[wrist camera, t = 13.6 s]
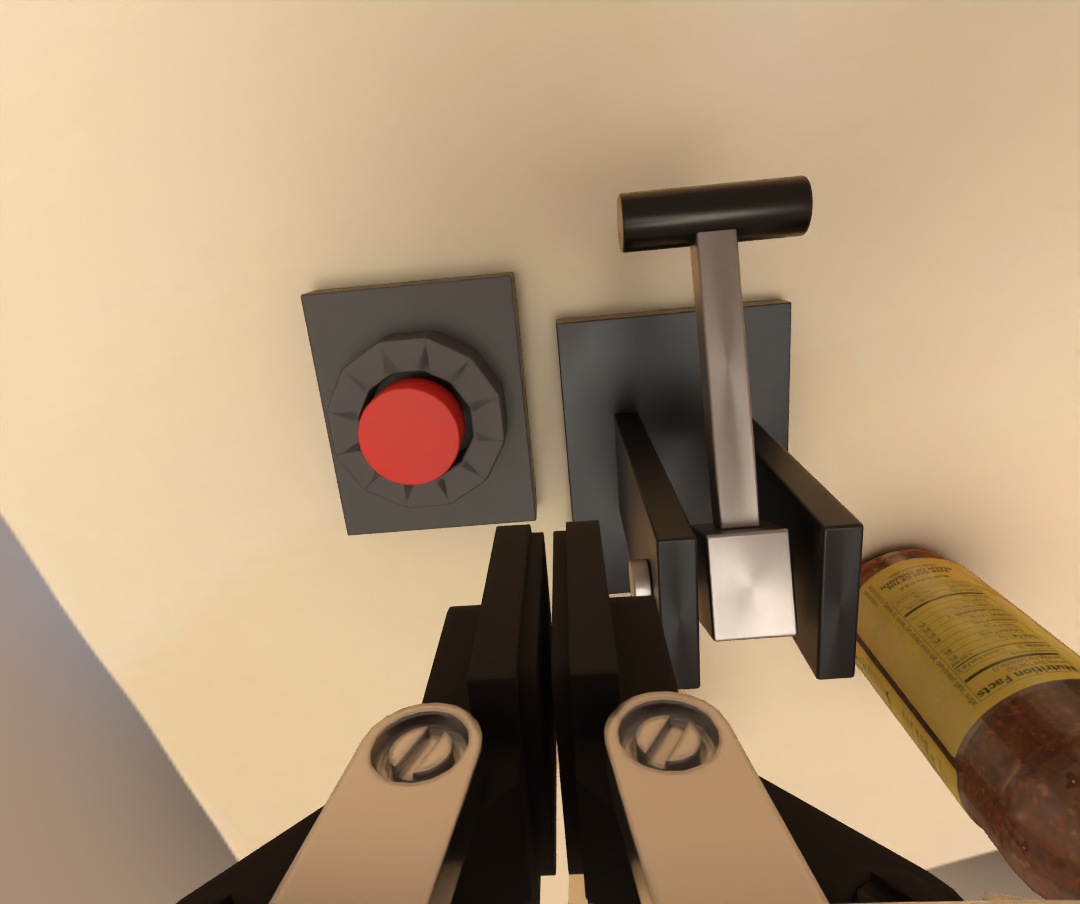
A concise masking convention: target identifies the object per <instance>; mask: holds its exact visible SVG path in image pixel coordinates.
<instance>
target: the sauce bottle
mask: <svg viewBox="0 0 1080 904" xmlns="http://www.w3.org/2000/svg"><path fill="white" fill-rule="evenodd" d="M855 664H856V665H857V666H858V668H859V669H860V670H861V672H862V673H863V674H864V675H865V677H866V678H867V679H868V681H869V682H870V683H871V685H872V686H873V688H874V689H875V690H876V692H877V693H878V694H879V696H880V697H881V698H882V700H883V701H884V702H885V704H886V705H887V706H888V708H889V709H890V710H891V712H892V713H893V714H894V716H895V717H896V718H897V720H898V721H899V722H900V724H901V725H902V726H903V728H904V729H905V730H906V732H907V733H908V734H909V736H910V737H911V739H912V740H913V741H914V743H915V744H916V745H917V747H918V748H919V749H920V751H921V752H922V753H923V755H924V756H925V757H926V759H927V760H928V762H929V763H930V764H931V766H932V767H933V768H934V770H935V771H936V772H937V774H938V775H939V776H940V778H941V779H942V780H943V782H944V783H945V785H946V786H947V787H948V789H949V790H950V791H951V793H952V794H953V795H954V797H955V798H956V799H957V801H958V802H959V804H960V805H961V806H962V808H963V809H964V810H965V811H966V813H967V814H968V815H969V817H970V818H971V819H972V820H973V821H974V822H975V823H976V824H977V825H978V826H979V827H981V828H982V829H983V830H984V831H985V833H986V834H987V835H988V837H989V838H990V840H991V841H992V842H993V843H994V845H995V846H996V847H997V849H998V850H999V851H1000V853H1001V854H1002V855H1003V857H1004V859H1005V860H1006V861H1007V863H1008V864H1009V866H1010V867H1011V868H1012V869H1013V871H1014V872H1015V873H1016V874H1017V875H1018V876H1019V877H1020V878H1021V879H1022V880H1023V881H1024V882H1025V883H1026V884H1027V885H1028V887H1029V888H1031V890H1032V891H1034V892H1035V893H1037V894H1038V895H1040V896H1041V897H1042V898H1044V899H1045V900H1080V656H1079V655H1078V654H1077V653H1075V652H1074V651H1073V650H1071V649H1070V648H1069V647H1067V646H1066V645H1065V644H1064V643H1062V642H1061V641H1060V640H1058V639H1057V638H1056V637H1055V636H1053V635H1052V634H1051V633H1049V632H1048V631H1047V630H1046V629H1044V628H1043V627H1042V626H1041V625H1039V624H1038V623H1037V622H1035V621H1034V620H1033V619H1032V618H1030V617H1029V616H1028V615H1027V614H1025V613H1024V612H1023V611H1021V610H1020V609H1019V608H1017V607H1016V606H1015V605H1013V604H1012V603H1011V602H1010V601H1008V600H1007V599H1006V598H1004V597H1003V596H1002V595H1000V594H999V593H998V592H997V591H995V590H994V589H993V588H991V587H990V586H989V585H987V584H986V583H985V582H984V581H982V580H981V579H980V578H978V577H977V576H976V575H974V574H973V573H972V572H970V571H969V570H968V569H966V568H965V567H963V566H961V565H959V564H957V563H954V562H951V561H948V560H946V559H945V558H943V557H941V556H938V555H937V554H933V553H930V552H927V551H924V550H919V549H907V550H899V551H894V552H889V553H887V554H884V555H882V556H877V557H874V558H873V559H872V560H870V561H868V562H866V563H864V564H862V565H861V583H860V591H859V608H858V624H857V640H856V656H855Z"/></svg>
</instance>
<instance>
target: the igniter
mask: <svg viewBox="0 0 1080 904" xmlns="http://www.w3.org/2000/svg"><path fill="white" fill-rule="evenodd" d="M301 300H302V305H303V311H304V316H305V321H306V326H307V331H308V336H309V341H310V346H311V351H312V356H313V361H314V366H315V371H316V376H317V381H318V387H319V392H320V397H321V402H322V407H323V412H324V417H325V422H326V427H327V432H328V437H329V442H330V447H331V452H332V457H333V462H334V468H335V473H336V478H337V483H338V488H339V493H340V498H341V503H342V508H343V513H344V518H345V523H346V528H347V533H348V535H360V534H372V533H385V532H398V531H410V530H423V529H435V528H448V527H461V526H473V525H486V524H499V523H511V522H524V521H535V520H536V515H537V500H536V490H535V480H534V470H533V460H532V450H531V440H530V430H529V420H528V410H527V401H526V391H525V381H524V371H523V361H522V351H521V341H520V331H519V321H518V311H517V301H516V291H515V281H514V273H513V272H508V273H497V274H486V275H476V276H465V277H454V278H444V279H433V280H422V281H412V282H401V283H390V284H380V285H369V286H358V287H348V288H337V289H326V290H316V291H312V292H309V293H306V294H302V295H301ZM413 377H417V378H425V379H429V380H432V381H434V382H436V383H438V384H440V385H442V386H443V387H445V388H446V389H447V390H449V391H450V392H451V393H452V394H453V396H454V397H455V398H456V399H457V401H458V402H459V404H460V406H461V408H462V411H463V414H464V419H465V434H464V438H463V441H462V444H461V446H460V449H459V452H458V454H457V457H456V459H455V461H454V463H453V464H452V465H451V467H450V468H449V469H448V470H447V471H446V472H445V473H444V474H443V475H442V476H440V477H439V478H437V479H435V480H433V481H431V482H428V483H425V484H419V485H405V484H400V483H396V482H393V481H390V480H388V479H386V478H384V477H383V476H381V475H380V474H378V473H377V472H376V471H375V470H374V469H373V468H372V467H371V466H370V465H369V463H368V462H367V461H366V459H365V457H364V456H363V454H362V451H361V449H360V445H359V440H358V426H359V421H360V418H361V416H362V413H363V411H364V410H365V408H366V407H367V405H368V404H369V403H370V402H371V401H372V400H373V399H374V398H375V397H376V396H377V395H378V394H379V393H380V392H381V391H382V390H383V389H384V388H385V387H386V386H388V385H390V384H391V383H393V382H395V381H397V380H401V379H404V378H413Z"/></svg>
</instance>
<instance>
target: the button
mask: <svg viewBox="0 0 1080 904" xmlns="http://www.w3.org/2000/svg"><path fill="white" fill-rule="evenodd" d="M464 434H465V419H464V414H463V411H462V408H461V406H460V404H459V402H458V401H457V399H456V398H455V397H454V396H453V394H452V393H451V392H450V391H449V390H447V389H446V388H445V387H443V386H442V385H440V384H438V383H436V382H434V381H432V380H429V379H425V378H417V377H413V378H404V379H401V380H397V381H395V382H393V383H391V384H390V385H388V386H386V387H385V388H384V389H383V390H382V391H381V392H380V393H379V394H378V395H377V396H376V397H375V398H374V399H373V400H372V401H371V402H370V403H369V404H368V405H367V407H366V408H365V410H364V411H363V413H362V416H361V418H360V421H359V426H358V440H359V445H360V449H361V451H362V454H363V456H364V457H365V459H366V461H367V462H368V463H369V465H370V466H371V467H372V468H373V469H374V470H375V471H376V472H377V473H378V474H380V475H381V476H383V477H384V478H386V479H388V480H390V481H393V482H396V483H400V484H405V485H419V484H425V483H428V482H431V481H433V480H435V479H437V478H439V477H440V476H442V475H443V474H444V473H445V472H446V471H447V470H448V469H449V468H450V467H451V465H452V464H453V463H454V461H455V459H456V457H457V454H458V452H459V449H460V446H461V444H462V441H463V438H464Z"/></svg>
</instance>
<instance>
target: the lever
mask: <svg viewBox="0 0 1080 904" xmlns="http://www.w3.org/2000/svg"><path fill="white" fill-rule="evenodd" d="M812 207H813V199H812V190H811V185H810V182H809V180H808V179H807V177H805V176H794V177H783V178H773V179H763V180H753V181H742V182H732V183H722V184H712V185H702V186H691V187H681V188H671V189H661V190H651V191H640V192H630V193H620V194H619V195H618V200H617V222H618V236H619V244H620V249H621V251H622V252H623V253H626V252H636V251H647V250H657V249H668V248H679V247H689V246H690V250H691V262H692V274H693V286H694V299H695V311H696V323H697V335H698V348H699V360H700V372H701V384H702V397H703V409H704V421H705V433H706V446H707V458H708V470H709V483H710V495H711V507H712V519H713V523H707V524H694V525H691V527H692V529H693V531H694V533H695V536H696V538H697V561H698V607H699V621H700V623H701V624H702V625H703V627H704V628H705V629H706V631H707V632H708V633H709V635H710V636H711V637H712V639H713V640H714V641H716V642H717V641H731V640H745V639H759V638H773V637H787V636H796V635H797V634H798V626H797V613H796V601H795V589H794V576H793V564H792V552H791V539H790V531H789V529H787V528H784V527H781V526H779V525H776V524H774V523H771V522H768V521H766V520H763V519H760V511H759V498H758V486H757V474H756V461H755V449H754V437H753V424H752V412H751V400H750V387H749V375H748V363H747V350H746V338H745V326H744V313H743V301H742V289H741V276H740V264H739V252H738V242H742V241H753V240H763V239H774V238H785V237H795V236H802V235H804V234H805V233H806V232H807V230H808V228H809V225H810V221H811V216H812Z"/></svg>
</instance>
